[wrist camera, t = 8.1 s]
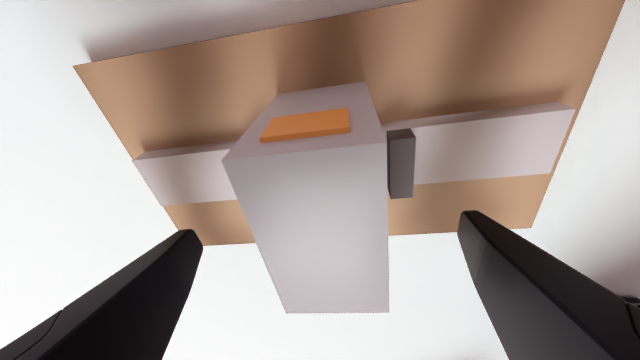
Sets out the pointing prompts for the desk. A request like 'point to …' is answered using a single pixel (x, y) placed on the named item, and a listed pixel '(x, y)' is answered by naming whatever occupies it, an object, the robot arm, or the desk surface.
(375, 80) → the rail base
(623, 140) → the desk surface
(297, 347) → the desk surface
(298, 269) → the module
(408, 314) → the desk surface
